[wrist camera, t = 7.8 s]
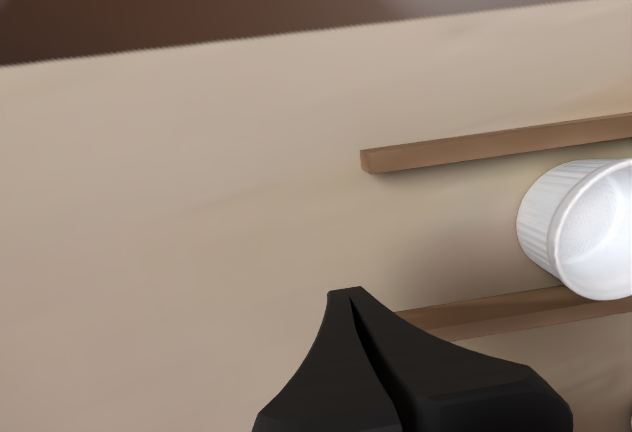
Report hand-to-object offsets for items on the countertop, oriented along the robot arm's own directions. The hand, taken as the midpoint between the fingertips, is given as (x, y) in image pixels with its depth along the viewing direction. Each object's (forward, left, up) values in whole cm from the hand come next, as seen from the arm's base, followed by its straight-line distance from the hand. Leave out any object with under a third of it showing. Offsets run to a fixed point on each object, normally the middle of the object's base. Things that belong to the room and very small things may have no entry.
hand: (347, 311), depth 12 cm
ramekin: (-1, -17, -10) cm, 20 cm away
